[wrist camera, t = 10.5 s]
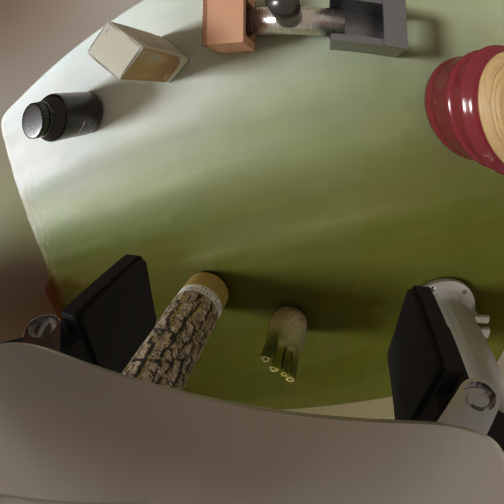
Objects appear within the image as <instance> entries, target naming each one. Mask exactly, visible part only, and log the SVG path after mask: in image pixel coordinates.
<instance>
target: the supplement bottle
mask: <svg viewBox="0 0 504 504" xmlns="http://www.w3.org/2000/svg"><path fill="white" fill-rule="evenodd" d="M102 115H103V107H102V103H101V101H100V99H99V97H98V96H97V95H95V94H94V93H91V92H72V93H55V94H50V95H48V96H46V97H45V98H44V99H42V101H40V102H36V103H31V104H29V106H27V108H26V109H25V111H24V113H23V119H22V127H23V131H24V133H25V135H26V136H27V137H28V138H31V139H35V138H42V139H43V140H45V141H48V142H53V141H58V140H63V139H67V138H72V137H76V136H81V135H86V134H89V133H92V132H93V131H94V130H95V129H96V128H97V127H98V126H99V124H100V122H101V119H102Z"/></svg>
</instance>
